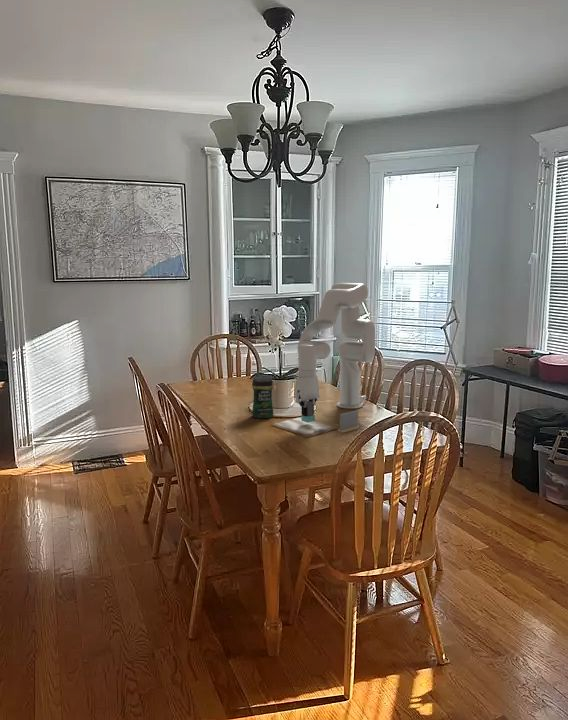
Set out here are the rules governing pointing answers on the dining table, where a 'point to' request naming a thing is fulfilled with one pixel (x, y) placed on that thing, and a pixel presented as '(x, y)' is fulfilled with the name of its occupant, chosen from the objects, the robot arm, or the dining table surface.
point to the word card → (348, 421)
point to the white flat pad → (304, 427)
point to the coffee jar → (262, 397)
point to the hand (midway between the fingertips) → (307, 414)
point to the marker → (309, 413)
